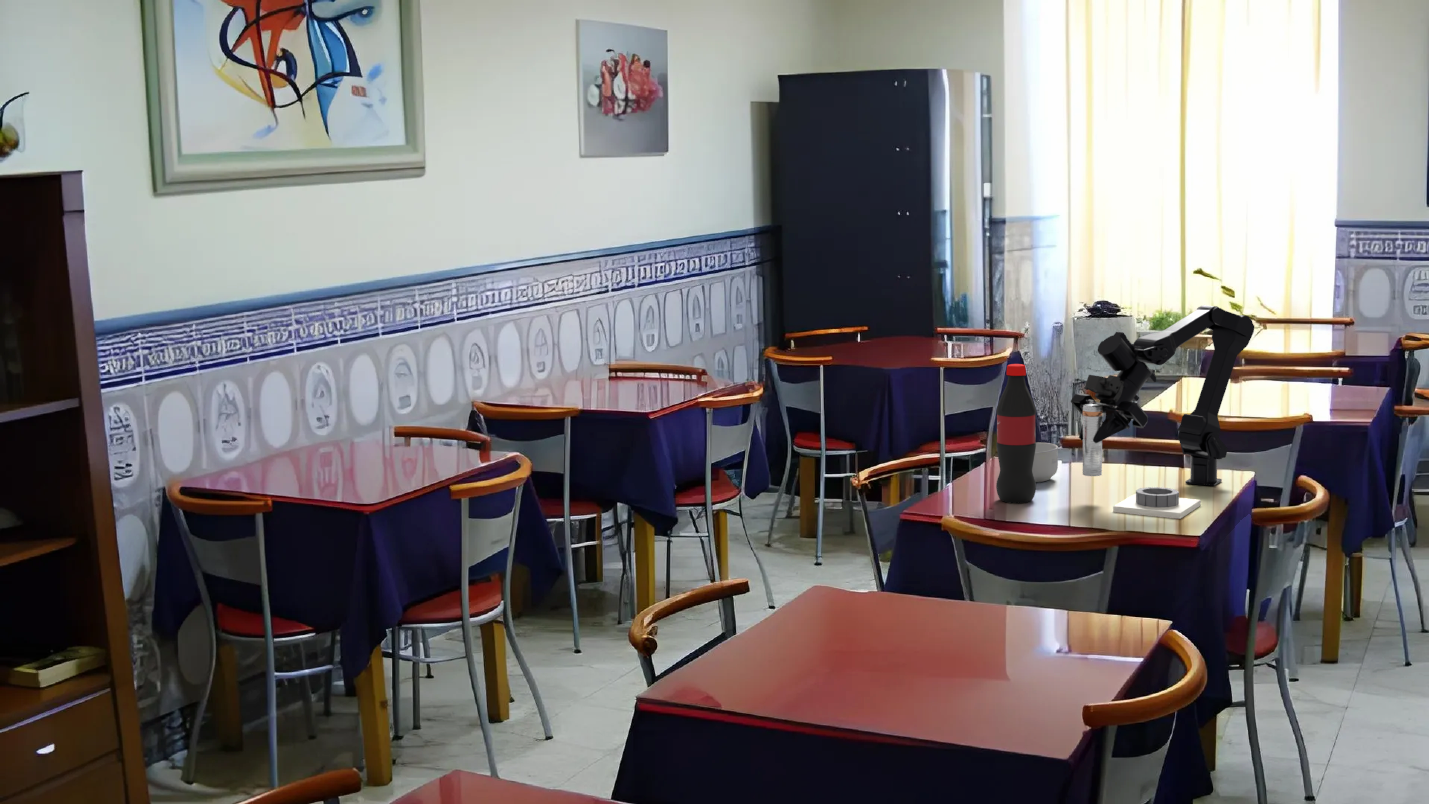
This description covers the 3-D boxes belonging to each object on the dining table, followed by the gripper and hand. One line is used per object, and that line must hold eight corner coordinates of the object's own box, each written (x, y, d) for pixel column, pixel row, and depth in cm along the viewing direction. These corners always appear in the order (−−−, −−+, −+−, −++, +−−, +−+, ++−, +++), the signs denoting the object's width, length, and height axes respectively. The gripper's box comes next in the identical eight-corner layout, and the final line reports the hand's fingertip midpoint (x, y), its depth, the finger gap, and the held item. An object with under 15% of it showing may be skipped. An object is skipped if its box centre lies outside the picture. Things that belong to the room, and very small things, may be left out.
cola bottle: (1033, 496, 321) (1033, 361, 316) (1038, 504, 313) (1038, 366, 308) (994, 496, 322) (994, 362, 317) (998, 505, 313) (998, 367, 309)
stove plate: (1135, 498, 315) (1135, 482, 315) (1200, 505, 307) (1200, 488, 307) (1113, 511, 304) (1113, 494, 303) (1180, 518, 296) (1180, 501, 296)
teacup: (1062, 484, 333) (1062, 449, 332) (1014, 485, 333) (1014, 450, 332) (1049, 472, 347) (1049, 439, 346) (1004, 473, 347) (1004, 440, 346)
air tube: (1086, 471, 317) (1086, 403, 314) (1104, 473, 314) (1105, 404, 312) (1079, 475, 313) (1080, 406, 311) (1098, 476, 311) (1098, 407, 309)
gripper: (1077, 357, 320) (1038, 411, 317) (1138, 365, 304) (1097, 422, 300) (1104, 389, 325) (1066, 443, 321) (1165, 398, 308) (1125, 455, 305)
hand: (1087, 440), depth 312 cm, fingers closed on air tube, 4 cm apart
